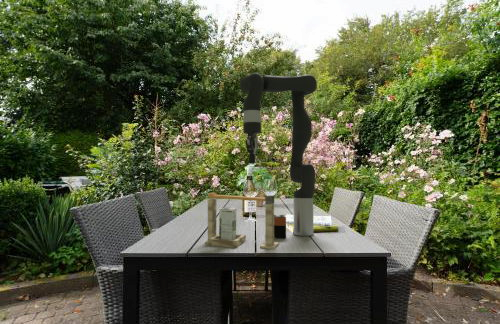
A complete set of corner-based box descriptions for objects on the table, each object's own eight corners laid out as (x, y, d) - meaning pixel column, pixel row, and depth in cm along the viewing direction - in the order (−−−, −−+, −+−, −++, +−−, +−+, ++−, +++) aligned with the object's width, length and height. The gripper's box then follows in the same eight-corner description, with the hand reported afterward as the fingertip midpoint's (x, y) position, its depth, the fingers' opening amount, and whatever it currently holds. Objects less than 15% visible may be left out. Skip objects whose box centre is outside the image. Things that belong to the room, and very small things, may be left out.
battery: (285, 238, 140) (285, 216, 140) (270, 238, 140) (270, 215, 141) (286, 236, 144) (286, 214, 144) (271, 236, 145) (271, 214, 145)
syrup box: (223, 241, 135) (223, 207, 135) (236, 242, 133) (236, 207, 133) (218, 244, 129) (218, 208, 129) (232, 245, 128) (232, 209, 128)
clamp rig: (214, 238, 139) (214, 193, 140) (280, 243, 131) (280, 194, 131) (202, 245, 128) (202, 195, 128) (274, 250, 119) (273, 197, 120)
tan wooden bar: (211, 196, 136) (211, 192, 136) (271, 200, 128) (272, 196, 128) (208, 197, 132) (208, 193, 132) (269, 201, 124) (269, 196, 124)
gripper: (256, 119, 125) (257, 163, 125) (264, 123, 138) (264, 163, 137) (238, 120, 127) (239, 163, 127) (247, 124, 140) (248, 163, 139)
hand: (252, 163), depth 132 cm, fingers closed
